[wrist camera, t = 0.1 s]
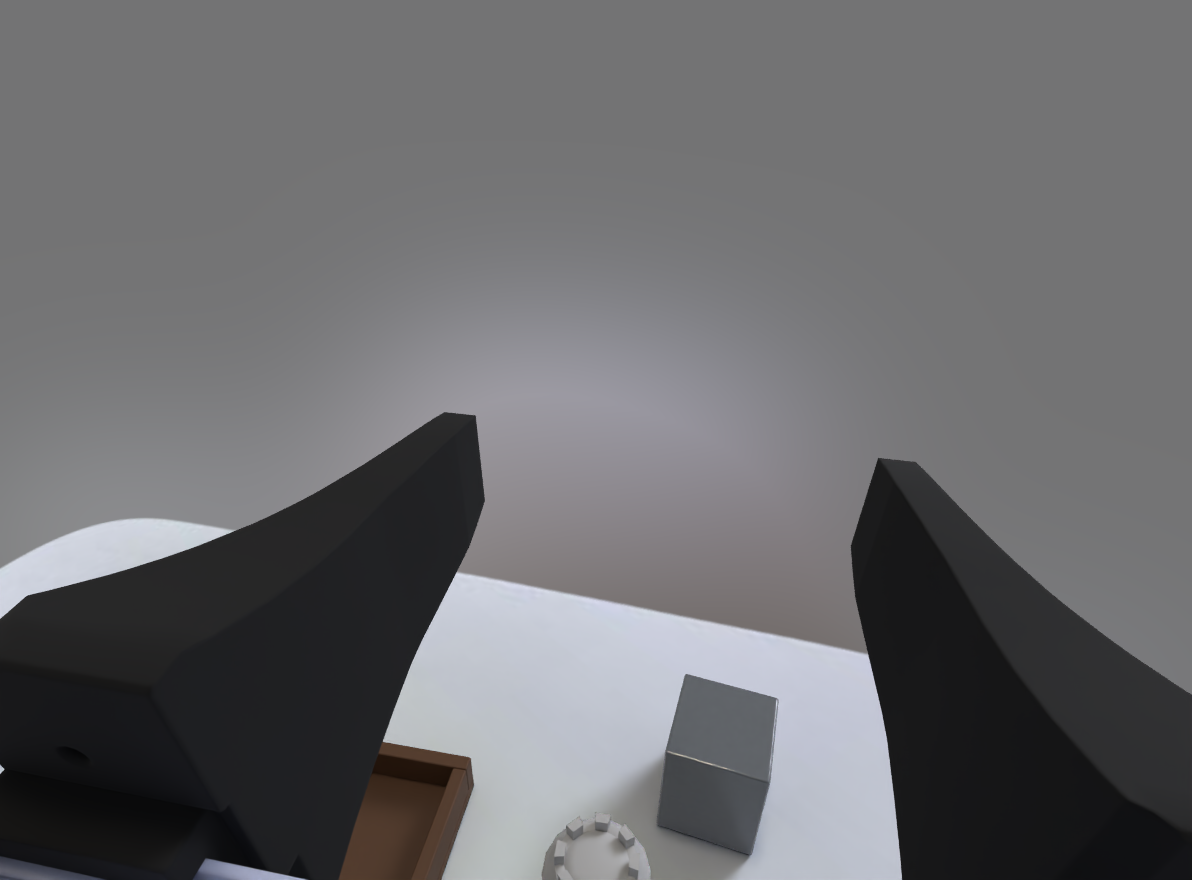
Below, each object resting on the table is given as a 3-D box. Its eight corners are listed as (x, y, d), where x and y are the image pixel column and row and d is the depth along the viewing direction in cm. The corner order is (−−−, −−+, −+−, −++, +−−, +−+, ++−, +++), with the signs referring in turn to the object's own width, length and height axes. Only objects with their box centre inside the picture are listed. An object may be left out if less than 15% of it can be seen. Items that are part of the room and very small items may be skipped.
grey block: (751, 856, 27) (770, 783, 25) (656, 825, 28) (665, 751, 26) (761, 770, 31) (778, 697, 28) (675, 745, 32) (685, 672, 29)
